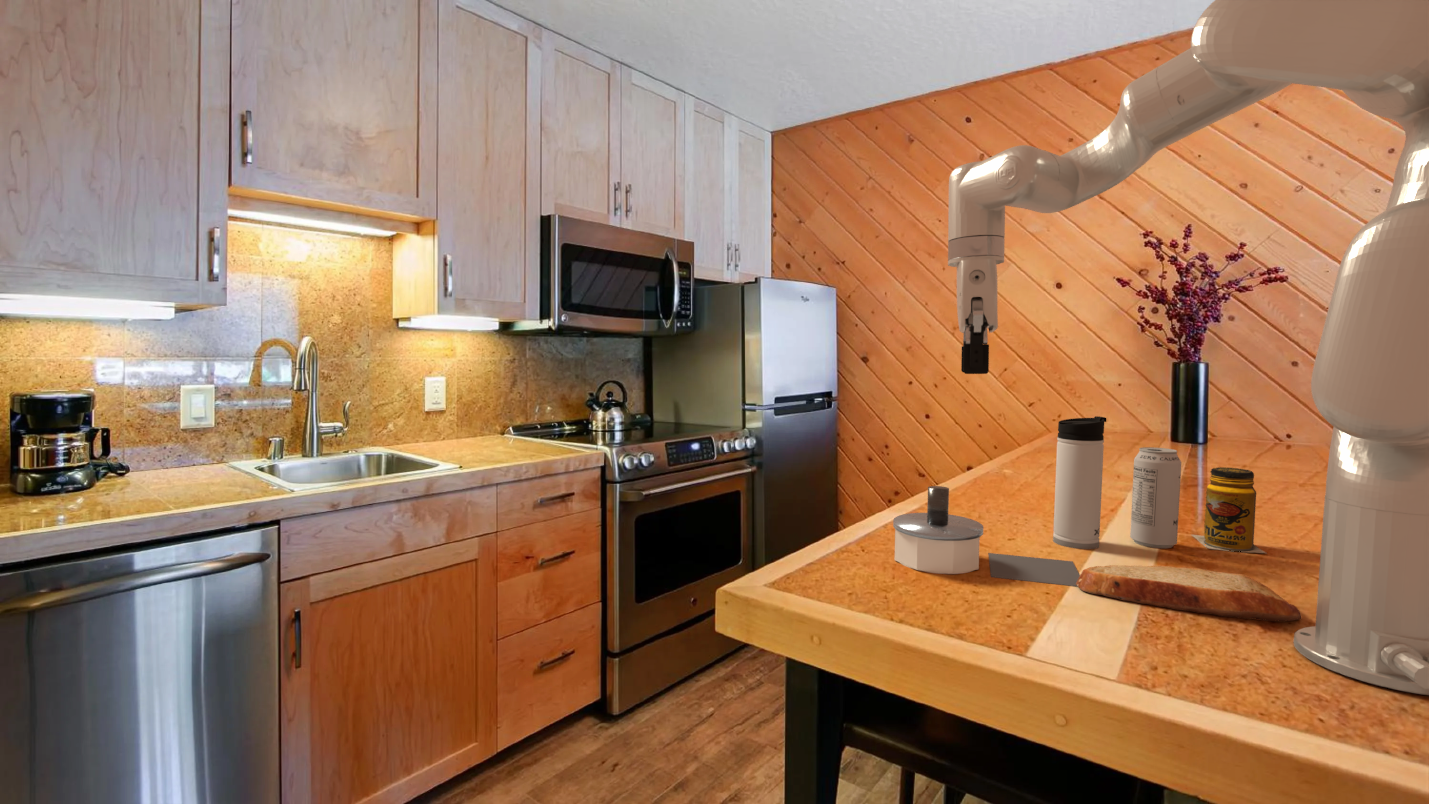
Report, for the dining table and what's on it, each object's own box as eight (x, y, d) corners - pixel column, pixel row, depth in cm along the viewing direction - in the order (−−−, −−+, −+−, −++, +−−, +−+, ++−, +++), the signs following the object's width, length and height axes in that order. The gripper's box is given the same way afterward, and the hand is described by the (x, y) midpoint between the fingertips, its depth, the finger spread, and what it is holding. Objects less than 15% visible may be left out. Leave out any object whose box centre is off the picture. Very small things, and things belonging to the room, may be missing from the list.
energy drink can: (1185, 552, 99) (1190, 453, 98) (1141, 550, 100) (1146, 452, 98) (1164, 541, 105) (1169, 447, 103) (1123, 539, 106) (1127, 446, 104)
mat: (1085, 590, 83) (1085, 587, 83) (990, 579, 87) (991, 576, 87) (1072, 564, 93) (1072, 561, 93) (988, 555, 97) (988, 552, 97)
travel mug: (1109, 551, 99) (1116, 419, 98) (1065, 551, 99) (1071, 418, 98) (1087, 539, 105) (1092, 414, 104) (1045, 539, 105) (1050, 414, 104)
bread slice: (1062, 583, 84) (1064, 554, 84) (1160, 569, 90) (1162, 542, 90) (1211, 643, 67) (1213, 607, 67) (1318, 620, 74) (1321, 588, 73)
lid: (984, 544, 85) (985, 500, 85) (888, 535, 90) (889, 493, 89) (982, 522, 97) (983, 483, 96) (897, 515, 101) (898, 477, 100)
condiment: (1208, 550, 100) (1213, 471, 99) (1190, 535, 108) (1194, 462, 107) (1267, 555, 98) (1272, 475, 97) (1244, 539, 106) (1249, 465, 105)
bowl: (978, 580, 86) (980, 543, 86) (892, 570, 90) (892, 534, 90) (977, 556, 97) (978, 522, 96) (899, 548, 101) (900, 516, 100)
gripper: (1010, 241, 85) (1008, 374, 86) (999, 260, 101) (997, 372, 103) (948, 245, 88) (947, 374, 89) (947, 263, 104) (946, 372, 105)
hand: (974, 373), depth 96 cm, fingers open, 9 cm apart
